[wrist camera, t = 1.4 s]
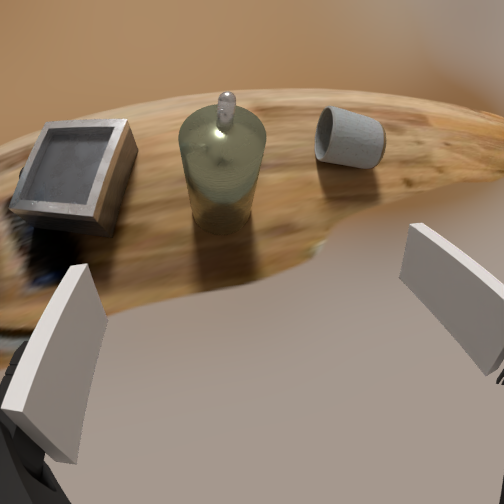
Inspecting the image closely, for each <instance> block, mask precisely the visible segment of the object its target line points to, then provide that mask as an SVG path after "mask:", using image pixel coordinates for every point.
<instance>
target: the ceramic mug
mask: <svg viewBox="0 0 504 504" xmlns="http://www.w3.org/2000/svg"><path fill="white" fill-rule="evenodd" d="M385 148H386V133H385V130H384V128H383V126H382V125H381V124H380V123H379V122H378V121H376V120H374V119H372V118H369V117H367V116H363V115H360V114H356V113H353V112H350V111H347V110H344V109H340V108H337V107H334V106H327V107H325V108H324V110H323V111H322V113H321V115H320V118H319V121H318V124H317V129H316V134H315V154H316V158H317V159H318V160H319V161H322V162H329V163H334V164H340V165H346V166H352V167H356V168H362V169H370V168H374V167H375V166H377V165H378V164H379V162H380V161H381V159H382V158H383V155H384V152H385Z"/></svg>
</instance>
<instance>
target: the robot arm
mask: <svg viewBox="0 0 504 504" xmlns="http://www.w3.org/2000/svg"><path fill="white" fill-rule="evenodd" d="M399 279H401V281H403V283H404V284H405V285H406V286H407V287H408V288H409V289H410V290H411V291H412V292H413V293H414V294H415V295H416V296H417V297H418V298H419V299H420V300H421V302H422V303H423V304H424V305H425V306H426V307H427V308H428V309H429V310H430V311H431V312H432V314H433V315H434V316H435V317H436V318H437V319H438V320H439V321H440V322H441V324H442V325H444V327H445V328H446V329H447V330H448V332H449V333H450V334H451V335H452V336H453V337H454V338H455V340H456V341H457V342H458V343H459V344H460V345H461V346H462V348H463V349H464V350H465V351H466V353H467V354H468V355H469V356H470V357H471V359H472V360H473V361H474V362H475V364H476V365H477V366H478V367H479V369H480V370H481V371H482V372H483V373H484V375H485V376H487V375H489V374H490V373H492V372H494V371H495V370H497V369H498V368H499V366H500V364H501V363H502V361H503V359H504V284H502V283H501V282H500V281H499V280H498V279H496V278H495V277H494V276H493V275H492V274H490V273H489V272H488V271H486V270H485V269H484V268H483V267H482V266H480V265H479V264H478V263H477V262H475V261H474V260H472V259H471V258H470V257H469V256H467V255H466V254H465V253H464V252H462V251H461V250H460V249H458V248H457V247H456V246H454V245H453V244H452V243H450V242H449V241H447V240H446V239H445V238H443V237H442V236H440V235H439V234H438V233H436V232H435V231H433V230H432V229H430V228H429V227H428V226H426V225H425V224H423V223H416V224H410V225H409V230H408V237H407V242H406V247H405V253H404V258H403V262H402V267H401V272H400V276H399ZM107 323H108V319H107V316H106V314H105V311H104V309H103V306H102V303H101V301H100V298H99V295H98V293H97V290H96V287H95V284H94V281H93V279H92V276H91V273H90V270H89V267H88V264H80V265H73V266H70V268H69V269H68V271H67V273H66V274H65V276H64V278H63V279H62V281H61V283H60V284H59V286H58V288H57V289H56V291H55V293H54V295H53V296H52V298H51V300H50V302H49V303H48V305H47V307H46V309H45V311H44V313H43V314H42V316H41V318H40V320H39V322H38V324H37V326H36V328H35V330H34V332H33V334H32V336H31V338H30V340H29V341H24V342H23V343H22V345H21V346H20V347H19V348H18V349H17V350H16V351H15V353H14V355H13V357H12V359H11V361H10V363H9V364H10V366H8V368H7V370H6V372H5V376H4V377H3V379H2V381H1V384H0V504H71V503H70V501H69V500H68V498H67V497H66V495H65V493H64V492H63V490H62V489H61V487H60V485H59V484H58V482H57V480H56V478H55V477H54V475H53V473H52V471H51V469H50V468H49V466H48V465H47V464H46V463H45V461H44V456H45V453H46V454H48V455H49V456H50V457H51V458H52V459H53V460H55V461H56V462H63V463H69V464H77V458H78V451H79V445H80V439H81V431H82V427H83V421H84V416H85V411H86V406H87V401H88V396H89V392H90V387H91V383H92V379H93V375H94V371H95V366H96V363H97V359H98V355H99V351H100V347H101V343H102V340H103V336H104V332H105V329H106V326H107ZM503 377H504V369H503V371H502V372H501V374H500V375H499V377H498V378H497V381H496V384H499V382H500V381H501V379H502V378H503ZM502 385H504V380H503V382H502ZM499 504H504V477H503V484H502V491H501V497H500V503H499Z"/></svg>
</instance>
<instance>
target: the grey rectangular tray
mask: <svg viewBox="0 0 504 504" xmlns="http://www.w3.org/2000/svg"><path fill="white" fill-rule="evenodd" d="M137 152H138V148H137V145H136V142H135V139H134V137H133V134H132V131H131V128H130V126H129V123H128V120H127V119H90V120H68V121H53V122H46V123H45V125H44V127H43V129H42V131H41V133H40V135H39V137H38V139H37V141H36V143H35V145H34V147H33V149H32V151H31V153H30V156H29V158H28V160H27V162H26V165H25V167H23V168H22V170H21V171H20V175H19V181H18V184H17V187H16V189H15V192H14V195H13V197H12V200H11V203H10V206H9V209H10V210H12V211H13V212H14V213H15V214H17V215H18V216H19V217H21V218H22V219H23V220H25V221H26V222H27V223H29V224H30V225H31V226H33V227H34V228H41V229H49V230H57V231H64V232H72V233H80V234H88V235H95V236H103V237H111V238H113V233H114V229H115V225H116V221H117V218H118V214H119V210H120V206H121V203H122V199H123V196H124V192H125V189H126V186H127V182H128V179H129V176H130V173H131V170H132V166H133V163H134V160H135V157H136V154H137Z"/></svg>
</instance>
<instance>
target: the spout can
mask: <svg viewBox="0 0 504 504" xmlns="http://www.w3.org/2000/svg"><path fill="white" fill-rule="evenodd" d="M235 105H236V97H235V95H234V94H233V93H231V92H223V93H222V94H221V95H220V96H219V99H218V104H217V105H211V106H207V107H204V108H201V109H199V110H197V111H196V112H194V113H192V114H191V115H190V116H189V117H188V118H187V119H186V120H185V121H184V123H183V124H182V126H181V128H180V131H179V139H178V140H179V146H180V152H181V157H182V163H183V168H184V173H185V178H186V184H187V189H188V194H189V199H190V204H191V208H192V213H193V217H194V219H195V221H196V223H197V224H198V225H199V227H201V228H202V229H203V230H204V231H206V232H208V233H211V234H214V235H228V234H232V233H234V232H236V231H238V230H239V229H241V228H242V227H243V226H244V225H245V224H246V222H247V220H248V218H249V216H250V212H251V207H252V202H253V198H254V193H255V189H256V184H257V180H258V175H259V171H260V166H261V162H262V157H263V153H264V148H265V144H266V131H265V128H264V126H263V124H262V122H261V121H260V120H259V118H258V117H257V116H256V115H254V114H253V113H252V112H250V111H248V110H246V109H244V108H242V107H239V106H235Z"/></svg>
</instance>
